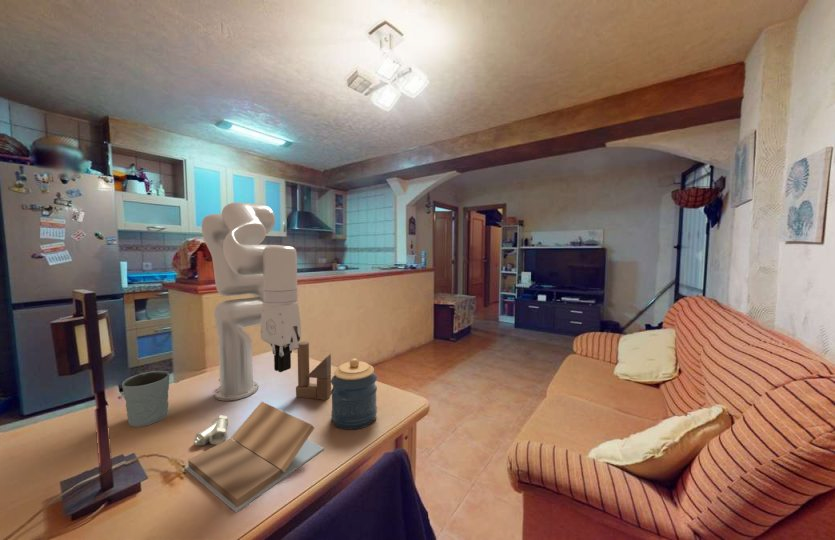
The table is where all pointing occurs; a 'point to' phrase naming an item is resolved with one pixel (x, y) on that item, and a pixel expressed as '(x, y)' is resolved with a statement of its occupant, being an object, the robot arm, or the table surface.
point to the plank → (273, 435)
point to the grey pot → (146, 397)
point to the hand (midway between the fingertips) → (282, 369)
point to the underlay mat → (302, 457)
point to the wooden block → (312, 375)
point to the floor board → (234, 471)
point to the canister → (354, 395)
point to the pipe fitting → (213, 432)
